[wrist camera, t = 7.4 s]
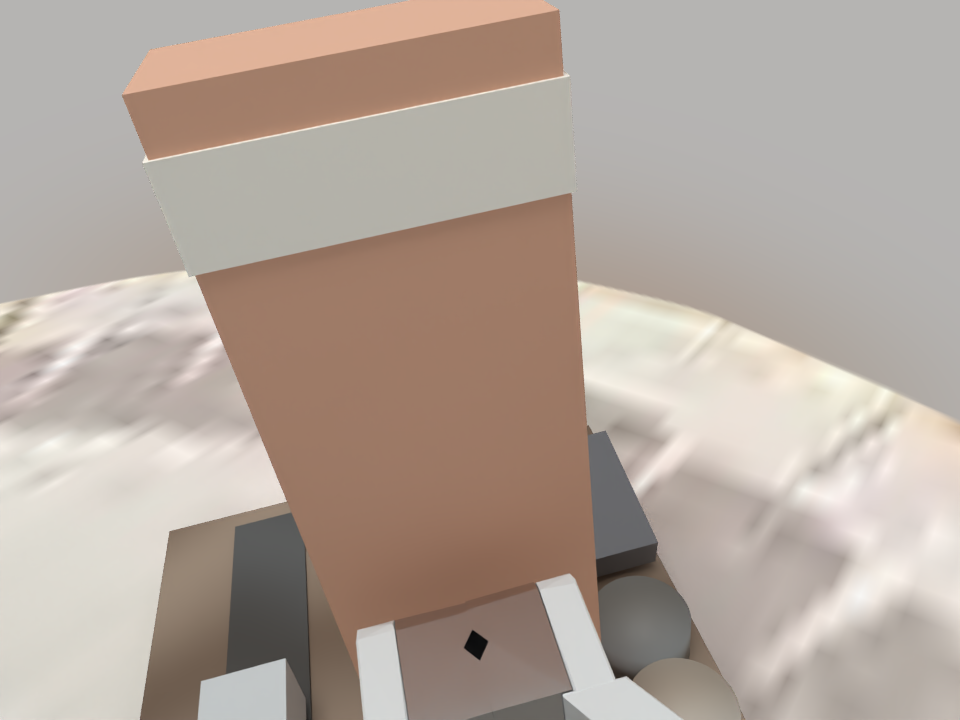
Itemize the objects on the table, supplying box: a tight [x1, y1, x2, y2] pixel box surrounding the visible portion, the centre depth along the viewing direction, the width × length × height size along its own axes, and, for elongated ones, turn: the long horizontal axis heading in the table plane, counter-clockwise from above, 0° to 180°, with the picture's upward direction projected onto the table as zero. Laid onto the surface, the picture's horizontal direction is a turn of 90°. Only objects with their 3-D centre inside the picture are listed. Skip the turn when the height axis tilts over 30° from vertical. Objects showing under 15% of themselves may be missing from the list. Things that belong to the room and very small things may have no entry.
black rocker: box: [587, 431, 658, 577], centre depth 20 cm, size 4×2×1 cm, turn 13°
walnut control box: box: [140, 425, 745, 720], centre depth 18 cm, size 12×13×3 cm
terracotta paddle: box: [122, 0, 601, 677], centre depth 12 cm, size 2×4×14 cm, turn 103°
